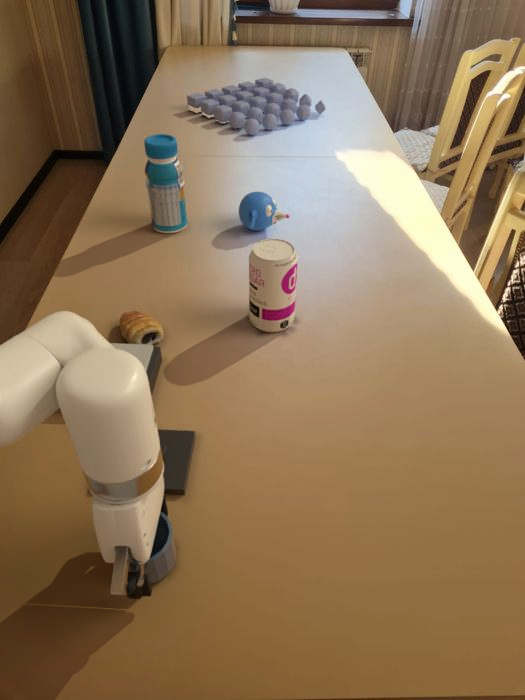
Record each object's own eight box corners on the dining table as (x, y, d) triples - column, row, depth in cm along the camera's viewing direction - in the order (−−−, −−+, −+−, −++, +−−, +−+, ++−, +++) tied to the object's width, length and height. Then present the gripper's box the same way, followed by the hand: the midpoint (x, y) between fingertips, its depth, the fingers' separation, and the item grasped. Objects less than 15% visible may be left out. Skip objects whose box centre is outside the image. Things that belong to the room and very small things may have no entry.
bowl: (112, 585, 62) (103, 561, 59) (126, 531, 67) (119, 506, 64) (171, 588, 62) (166, 565, 58) (180, 534, 67) (176, 509, 63)
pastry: (111, 327, 97) (107, 310, 95) (144, 313, 101) (142, 297, 98) (134, 355, 92) (131, 337, 89) (169, 340, 95) (167, 323, 92)
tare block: (95, 490, 72) (90, 477, 70) (114, 432, 79) (110, 418, 77) (184, 495, 71) (183, 481, 69) (195, 436, 79) (194, 422, 77)
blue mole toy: (281, 246, 119) (282, 211, 114) (231, 236, 122) (229, 202, 117) (296, 221, 128) (298, 187, 122) (249, 213, 131) (248, 180, 125)
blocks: (264, 91, 204) (264, 77, 201) (329, 115, 185) (331, 100, 181) (187, 110, 187) (186, 95, 184) (250, 139, 168) (250, 122, 164)
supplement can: (301, 315, 101) (306, 244, 91) (280, 340, 95) (283, 267, 85) (264, 302, 104) (265, 232, 94) (241, 325, 98) (239, 253, 88)
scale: (56, 409, 82) (50, 391, 80) (80, 356, 91) (75, 339, 89) (147, 413, 82) (143, 395, 80) (162, 360, 91) (159, 342, 89)
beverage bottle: (164, 238, 121) (153, 150, 108) (144, 224, 126) (132, 137, 113) (195, 227, 125) (188, 140, 112) (175, 213, 130) (166, 129, 117)
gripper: (108, 396, 59) (132, 488, 70) (54, 543, 46) (94, 627, 57) (177, 399, 59) (190, 490, 70) (142, 548, 46) (165, 631, 57)
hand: (147, 552), depth 63 cm, fingers open, 9 cm apart
